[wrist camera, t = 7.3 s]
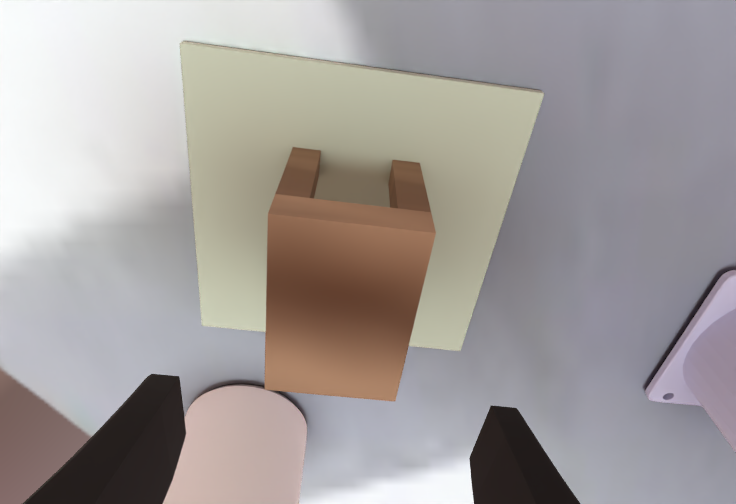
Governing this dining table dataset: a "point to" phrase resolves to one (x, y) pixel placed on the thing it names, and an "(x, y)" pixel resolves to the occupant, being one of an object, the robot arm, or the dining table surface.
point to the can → (240, 449)
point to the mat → (346, 168)
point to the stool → (343, 283)
